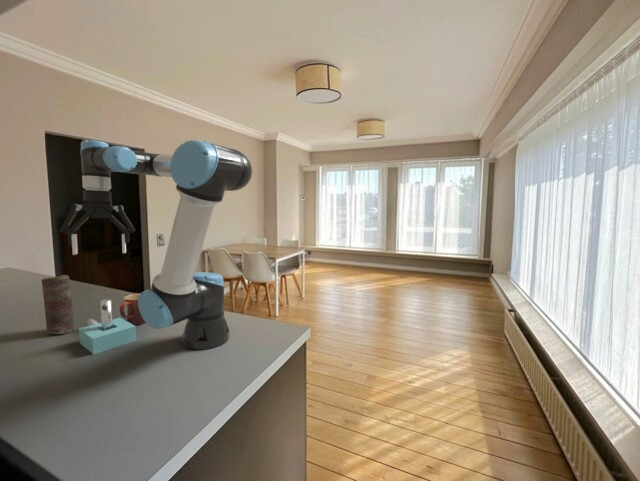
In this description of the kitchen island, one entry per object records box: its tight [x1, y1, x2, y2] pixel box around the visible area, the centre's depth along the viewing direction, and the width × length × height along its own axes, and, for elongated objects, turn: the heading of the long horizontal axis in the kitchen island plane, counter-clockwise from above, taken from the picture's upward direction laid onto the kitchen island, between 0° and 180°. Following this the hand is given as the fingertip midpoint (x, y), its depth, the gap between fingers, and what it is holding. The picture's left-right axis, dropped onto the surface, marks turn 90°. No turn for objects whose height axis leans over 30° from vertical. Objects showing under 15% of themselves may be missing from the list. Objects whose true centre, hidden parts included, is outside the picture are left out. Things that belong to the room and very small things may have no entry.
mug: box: [119, 292, 147, 326], centre depth 113 cm, size 12×9×10 cm
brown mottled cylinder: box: [41, 274, 76, 335], centre depth 104 cm, size 8×7×20 cm
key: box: [99, 298, 114, 331], centre depth 98 cm, size 6×3×14 cm, turn 24°
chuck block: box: [78, 317, 137, 355], centre depth 101 cm, size 22×12×5 cm, turn 55°
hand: (100, 253), depth 101 cm, fingers open, 13 cm apart
